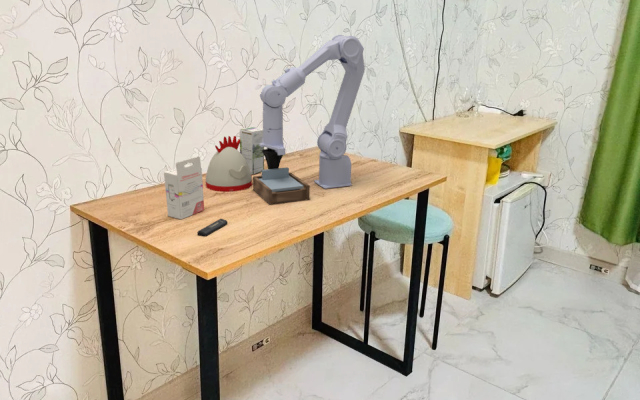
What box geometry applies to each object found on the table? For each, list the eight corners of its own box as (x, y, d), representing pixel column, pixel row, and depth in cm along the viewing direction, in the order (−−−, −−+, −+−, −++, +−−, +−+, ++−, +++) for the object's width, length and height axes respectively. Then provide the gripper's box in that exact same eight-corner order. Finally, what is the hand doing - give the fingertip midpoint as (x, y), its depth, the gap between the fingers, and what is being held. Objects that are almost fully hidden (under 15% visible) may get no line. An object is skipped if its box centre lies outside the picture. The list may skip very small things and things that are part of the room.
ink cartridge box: (191, 206, 139) (187, 153, 134) (204, 210, 136) (201, 155, 131) (166, 216, 132) (162, 159, 127) (180, 220, 129) (176, 162, 125)
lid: (258, 181, 151) (258, 169, 150) (288, 178, 155) (289, 166, 154) (271, 192, 142) (271, 179, 141) (303, 188, 146) (303, 176, 145)
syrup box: (251, 168, 176) (250, 126, 171) (264, 171, 172) (264, 128, 168) (239, 172, 171) (238, 128, 167) (253, 175, 168) (252, 131, 163)
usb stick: (205, 238, 120) (205, 232, 119) (196, 236, 121) (195, 230, 120) (228, 225, 128) (228, 219, 127) (220, 223, 129) (219, 217, 128)
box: (253, 190, 153) (252, 176, 152) (290, 185, 158) (290, 172, 157) (269, 204, 141) (269, 190, 140) (309, 199, 146) (309, 185, 145)
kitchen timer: (260, 186, 157) (259, 137, 152) (220, 194, 149) (217, 143, 144) (237, 175, 167) (235, 129, 162) (197, 183, 159) (195, 135, 154)
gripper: (251, 124, 153) (252, 168, 158) (268, 133, 141) (268, 181, 145) (274, 122, 156) (274, 166, 161) (292, 131, 144) (292, 178, 148)
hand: (273, 173), depth 153 cm, fingers closed
